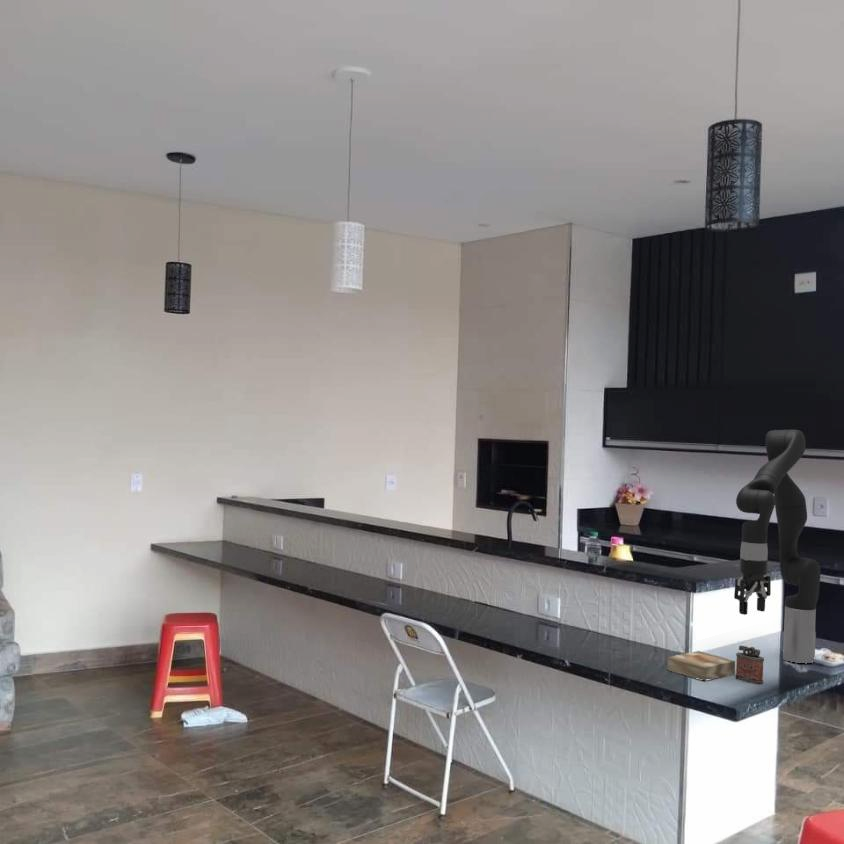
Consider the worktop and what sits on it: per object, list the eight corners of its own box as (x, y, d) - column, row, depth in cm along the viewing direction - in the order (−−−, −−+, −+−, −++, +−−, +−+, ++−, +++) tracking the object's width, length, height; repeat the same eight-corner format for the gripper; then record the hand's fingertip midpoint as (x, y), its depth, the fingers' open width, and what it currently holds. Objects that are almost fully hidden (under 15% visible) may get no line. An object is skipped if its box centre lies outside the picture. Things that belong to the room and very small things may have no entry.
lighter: (765, 682, 261) (766, 648, 261) (760, 685, 258) (761, 650, 258) (738, 676, 266) (739, 643, 266) (733, 679, 264) (734, 645, 264)
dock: (698, 663, 279) (698, 650, 279) (734, 674, 269) (735, 660, 269) (667, 670, 270) (668, 656, 270) (704, 681, 260) (704, 667, 260)
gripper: (757, 553, 269) (755, 607, 269) (727, 557, 261) (726, 612, 261) (779, 557, 263) (777, 612, 263) (750, 561, 255) (748, 617, 255)
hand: (752, 612), depth 262 cm, fingers open, 8 cm apart
